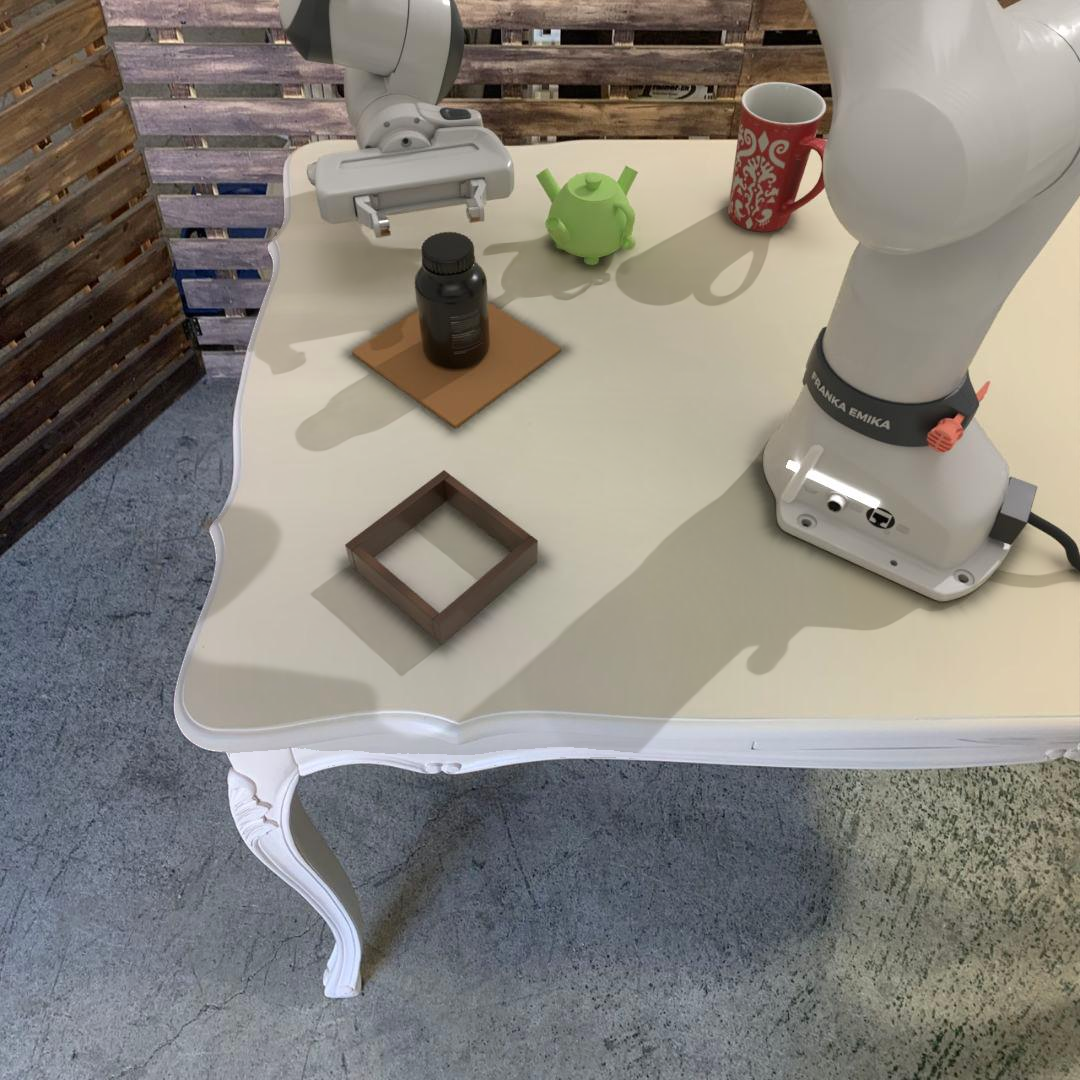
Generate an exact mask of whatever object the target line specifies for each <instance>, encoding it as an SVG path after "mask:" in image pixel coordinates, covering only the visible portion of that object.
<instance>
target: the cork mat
mask: <svg viewBox="0 0 1080 1080" xmlns="http://www.w3.org/2000/svg"><path fill="white" fill-rule="evenodd" d="M488 314H489V333H490V346H489V350H488V353H487V354H486V356H485V357H484V358H483V359H482V360H481V361H480V362H478V363H477V364H475V365H473V366H471V367H468V368H463V369H447V368H443V367H440V366H437V365H435V364H434V363H432V362H431V361H430V360H429V359H428V358H427V357H426V355H425V353H424V351H423V346H422V340H421V332H420V324H419V317H418V309H415V310H414V311H413V312H411V313H409V314H408V315H406V316H404V317H403V318H401V319H400V320H398V321H397V322H395V323H394V324H392V325H390V326H389V327H387V328H386V329H384V330H382V331H381V332H379V333H378V334H376V335H375V336H373V337H372V338H370V339H368V340H366V341H365V342H364V343H362V344H360V345H359V346H357V347H356V348H354V349H352V350H351V354H352V355H353V356H354V357H356V358H357V359H358V360H360V361H361V362H362V363H364V364H365V365H367V366H368V367H369V368H371V369H372V370H374V371H375V372H376V373H378V374H379V375H380V376H382V377H384V379H386V380H388V381H389V382H390V383H392V385H394V386H396V387H397V388H398V389H400V390H402V391H403V392H404V393H405V394H407V395H408V396H410V397H411V398H412V399H414V400H415V401H417V402H418V403H420V404H421V405H422V406H424V407H425V408H427V409H428V410H429V411H431V412H432V413H433V414H434V415H436V416H437V417H439V418H440V419H442V420H443V421H444V422H446V423H447V424H449V425H450V426H451V427H453V428H454V429H457V428H459V427H460V426H461V425H462V424H464V423H465V422H466V421H467V420H470V419H471V418H472V417H473V416H475V415H476V414H477V413H478V412H480V411H481V410H483V409H485V408H486V407H487V406H489V405H490V404H491V403H493V402H494V401H495V400H496V399H498V398H499V397H501V396H502V395H503V394H505V393H506V392H508V391H509V390H511V388H513V387H515V386H516V385H517V384H518V383H520V382H521V381H523V380H524V379H526V378H527V377H528V376H529V375H531V374H532V373H533V372H535V371H536V370H538V369H539V368H540V367H542V366H544V365H545V364H546V363H547V362H548V361H550V360H551V359H553V358H554V357H555V356H557V355H558V354H559V353H561V352H562V347H561V346H559V345H557V344H555V342H552V341H551V340H550V339H547V338H546V337H544V336H543V335H541V334H539V333H538V332H537V331H535V330H533V329H532V328H530V327H528V326H527V325H525V324H524V323H522V322H520V321H519V320H517V319H516V318H514V317H513V316H511V315H509V314H508V313H506V312H505V311H503V310H501V309H500V308H498V307H496V306H495V305H493V304H492V303H490V302H489V301H488Z"/></svg>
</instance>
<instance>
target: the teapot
mask: <svg viewBox="0 0 1080 1080" xmlns="http://www.w3.org/2000/svg"><path fill="white" fill-rule="evenodd" d="M638 173H639V172H638V171H637V170H635V169H633V168H631V167H630V166H627V165H625V166H624V168H623V170H622V172H621V174H620V176H619V177H618V180H615V179H614V178H613V177H611V176H609V175H607V174H604V173H601V172H596V171H590V172H582V173H579V174H576V175H574V176H572V177H571V178H569V179H568V181H567V182H566V183H565V184H564V185H563V186H562V188H560V186H559V184H558V183H557V181H556V179H555V177H554V176H553V175H552V173H551V171H550V169H549V168H548V167H546V168H545V169H543V170H542V171H540V172H538V173H537V174H536V175H535V177H536V179H537V180H538V182H539V184H540V185H541V187H542V189H543V190H544V192H545V194H546V195H547V197H548V199H549V201H550V202H551V205H550V208H549V211H548V216H547V218H546V220H545V223H544V225H545V228H546V229H547V232H548V234H549V237H550V238H551V239H552V240H553V242H554V243H555V247H556V248H557V249H559V250H562V251H565V252H566V253H568V254H570V255H573V256H577V257H580V258H581V257H582V258H583V262H584V263H585V264H587V265H589V266H594V265H598V264H599V262H600V258H602V257H605V256H609V255H611V254H613V253H615V252H617V251H618V250H620V249H621V248H622V250H625V251H631V250H633V248H635V245H636V241H635V239H634V237H633V236H632V235H633V231H634V224H635V222H636V213H635V210H634V208H633V207H632V205H630V201H629V199H628V198H627V196H628V193H629V191H630V189H631V187H632V185H633V183H634V181H635V180H636V178H637V175H638Z"/></svg>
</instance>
